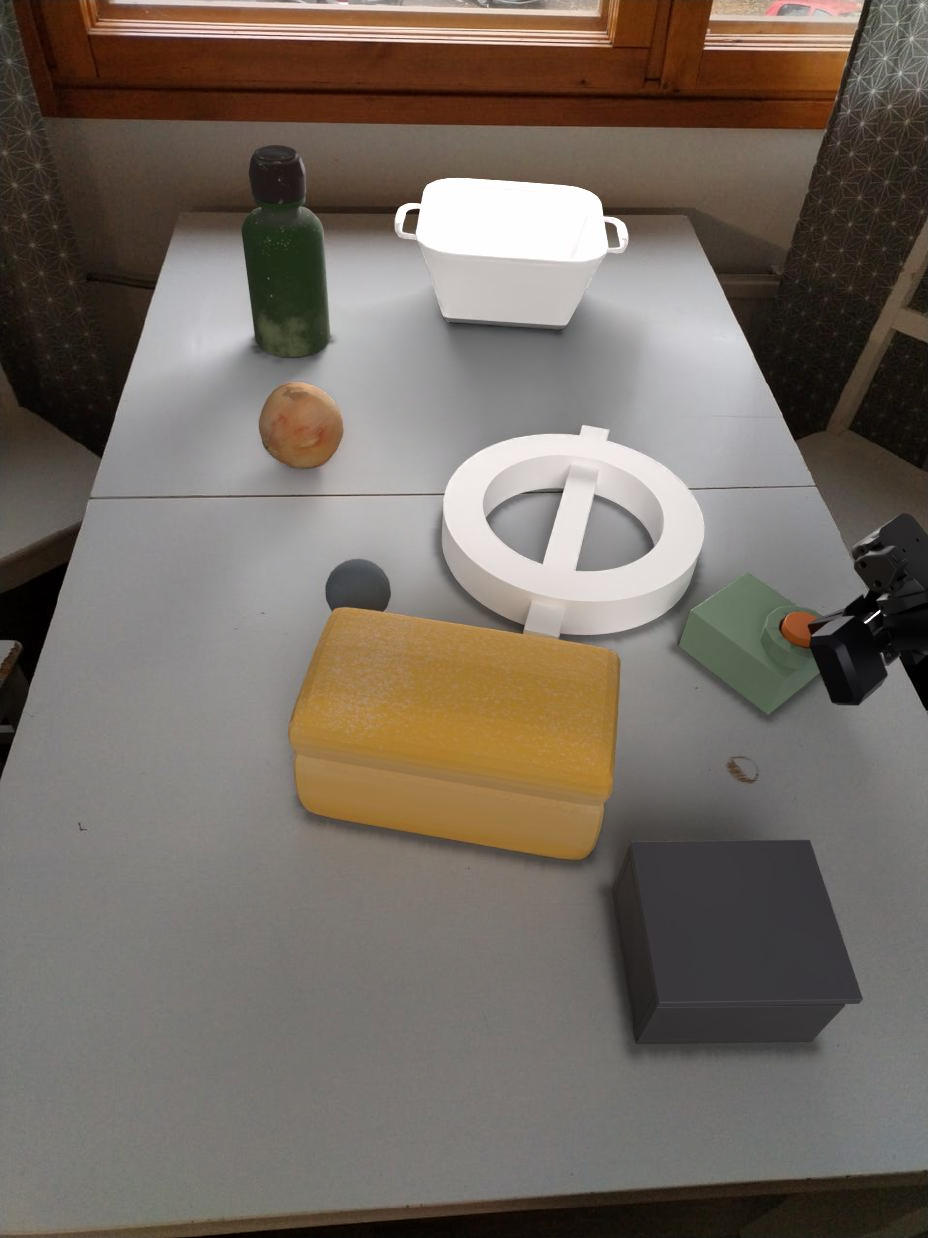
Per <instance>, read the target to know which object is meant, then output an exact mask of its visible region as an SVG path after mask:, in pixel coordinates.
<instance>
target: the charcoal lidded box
mask: <svg viewBox="0 0 928 1238" xmlns="http://www.w3.org/2000/svg"><path fill="white" fill-rule="evenodd" d="M612 897H613V903H614V909H615V910H614V911H615V915H616V921H617V922H616V923H617V930H618V937H619V941H620V948H621V954H622V961H623V967H624V975H625V981H626V987H627V992H628V993H627V994H628V1000H629V1005H630V1006H629V1007H630V1012H631V1013H630V1014H631V1019H632V1026H633V1033H634V1038H635V1039H634V1040H635V1045H679V1044H680V1045H684V1044H685V1045H686V1044H688V1045H689V1044H744V1043H745V1044H749V1043H750V1044H751V1043H752V1044H753V1043H758V1044H759V1043H760V1044H761V1043H763V1044H764V1043H811V1042H813V1040H814V1039H816V1037H817V1036H818V1035H819V1034H820V1033H821V1032H822V1031H823V1030H824V1029H825V1028H826V1027H827V1026H828V1025H829V1024H830V1022H832V1020H833V1019H834V1018H836V1017H837V1016H838V1014H839V1013H840V1012H841V1011H842V1010H843V1009H844V1008H845V1007H846V1004H823V1005H764V1006H705V1007H657V1006H656V1001H655V995H654V989H653V983H652V978H651V972H650V966H649V960H648V955H647V949H646V943H645V938H644V932H643V926H642V920H641V915H640V909H639V903H638V898H637V892H636V886H635V880H634V875H633V869H632V863H631V858H630V852H629V846H628V847H627V849H626V852H625V855H624V857H623V860H622V863H621V866H620V869H619V872H618V874H617V876H616V879H615V882H614V885H613V887H612Z"/></svg>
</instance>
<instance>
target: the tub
mask: <svg viewBox="0 0 928 1238" xmlns="http://www.w3.org/2000/svg"><path fill="white" fill-rule="evenodd" d="M414 209H415V210H417V209H419V214H418V219H417V225H416V229H415V233H408V232H404V231H403V227H404V226H403V225H404V222H405V219H406V215H407V214H406V213H407V212H408V211H410V210H414ZM605 223H610V224H613V225H614V226H615V228H616V233H617V238H618V240H619V247H609V242H608V236H607V230H606V224H605ZM394 232H395V233H396V235H397V237H399V238H401V239H402V240H403V239H405V240H415V241H416V242H417V244H418V245H419V248H420V251H421V253H422V256H423V260H424V263H425V265H426V269H427V272H428V275H429V278H430V282H431V285H432V287H433V291H434V293H435V296H436V300H437V303H438V306H439V309H440V312H441V315H442V317H443V318H444V320H446V321H447V322H449V323H454V324H456V323H457V324H469V325H485V326H496V327H508V328H509V327H511V328H527V329H529V328H530V329H544V330H557V331H559V330H562V329H564V328H566V327H567V325H568V324H569V323H570V321H571V319H572V317H573V315H574V313H575V312H576V309H578V306H579V304H580V303H581V300H582V298H583V296H584V295H585V293H586V291H587V289H588V287H589V286H590V284H591V282H592V280H593V278H594V276H595V275H596V272H597V270H598V269H599V267H600V265H601V263H602V262H603V260H604V258H605V257H606V256H607V254H623V253H624V252H625V251H626V248H627V247H628V245H629V232H628V228H627V226H626V224H625V222H623V221H621V219H618V218H616V217H612V216H604V211H603V206H602V201H601V200H600V198H599V197H598V196H597V195H596V194H594V193H593V192H591V191H589V190H586V189H583V188H581V187H578V186H569V185H562V184H550V183H549V184H548V183H535V182H524V181H523V182H522V181H521V182H520V181H510V180H508V181H507V180H491V179H481V178H479V179H478V178H463V177H462V178H459V177H456V178H455V177H454V178H451V177H450V178H444V179H437V180H435V181H432V182H431V183H429V184H427V185H426V186H425V188H424V190H423V192H422V197H421V203H413V202H412V203H406V204H404V205H402V206H400V207H399V208H398V209H397V212H396V214H395V217H394Z"/></svg>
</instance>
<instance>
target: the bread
mask: <svg viewBox="0 0 928 1238" xmlns="http://www.w3.org/2000/svg"><path fill="white" fill-rule="evenodd" d="M620 686H621V658H620V657H619V654H618V652H615V651H613V650H610V649H609V648H606V647H600V646H596V645H592V644H591V645H590V644H585V643H582V642H581V643H580V642H575V641H568V640H562V639H559V640H557V639H551V638H544V637H538V636H532V635H525V634H523V633H518V632H513V631H506V630H500V629H492V628H487V627H482V626H481V627H480V626H474V625H469V624H462V623H457V622H449V621H443V620H442V621H441V620H436V619H431V618H423V617H417V616H411V615H406V614H399V613H393V612H386V611H384V612H380V611H374V610H366V609H358V608H349V607H343V608H335V609H334V610H333V611H331V613H330V615H329V617H328V619H327V621H326V623H325V625H324V627H323V629H322V632H321V634H320V636H319V639H318V641H317V643H316V645H315V648H314V650H313V654H312V656H311V659H310V662H309V664H308V667H307V670H306V672H305V675H304V679H303V681H302V684H301V686H300V688H299V692H298V694H297V698H296V701H295V703H294V706H293V708H292V712H291V716H290V719H289V723H288V728H287V738H288V742H289V744H290V747H291V748H292V750H293V751H294V754H293V758H292V759H293V761H292V762H293V764H292V767H293V778H294V787H295V790H296V795H297V797H298V799H299V801H300V803H301V804H302V806H303V807H304V808H305V809H306V811H307V812H310V813H312V814H315V815H318V816H320V817H321V816H322V817H326V818H330V819H335V820H340V821H345V822H351V823H356V824H362V825H368V826H373V827H379V828H384V829H391V830H395V831H402V832H407V833H412V834H418V835H423V836H429V837H436V838H440V839H446V840H452V841H456V842H457V841H458V842H461V843H462V842H464V843H469V844H474V845H480V846H486V847H491V848H497V849H501V850H507V851H513V852H514V851H515V852H519V853H525V854H530V855H536V856H541V857H548V858H554V859H562V860H572V861H574V860H583V859H585V858H587V857H588V856H589V855H590V854H591V853H592V852H593V850H594V849H595V847H596V845H597V842H598V840H599V836H600V832H601V829H602V826H603V825H602V824H603V820H604V815H605V814H604V813H605V804H606V802H607V801H608V800H609V799H610V798H611V795H612V793H613V788H614V787H613V786H614V774H615V762H616V750H617V735H618V723H619V721H618V720H619V709H620V708H619V706H620V705H619V704H620V688H621V687H620Z"/></svg>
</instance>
